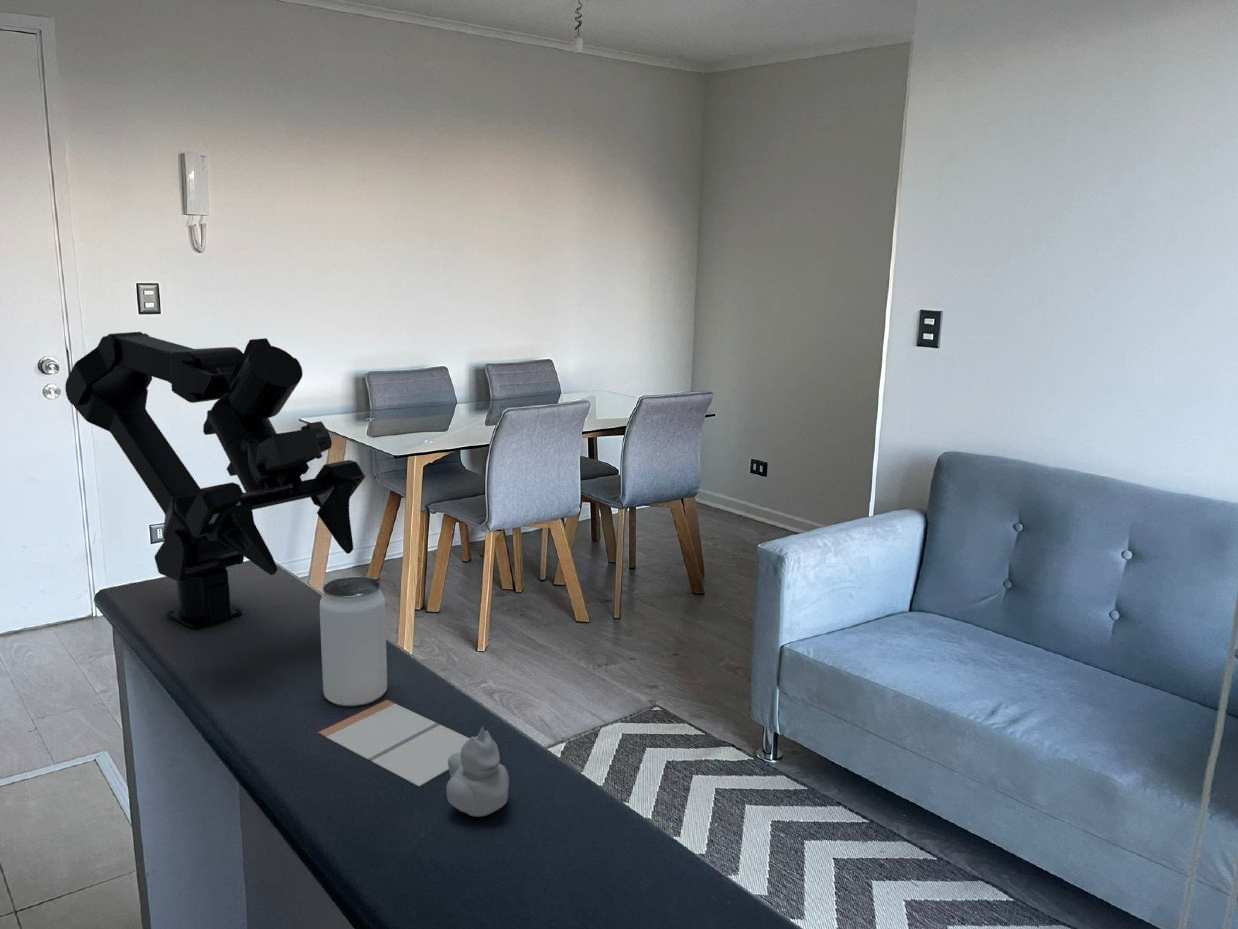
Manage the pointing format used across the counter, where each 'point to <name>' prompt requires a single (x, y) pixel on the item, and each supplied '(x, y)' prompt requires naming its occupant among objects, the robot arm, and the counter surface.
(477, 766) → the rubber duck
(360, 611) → the can
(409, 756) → the distance mat
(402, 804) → the counter surface
